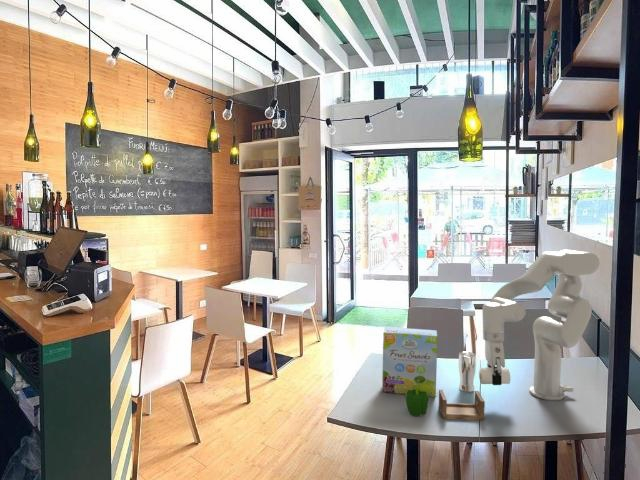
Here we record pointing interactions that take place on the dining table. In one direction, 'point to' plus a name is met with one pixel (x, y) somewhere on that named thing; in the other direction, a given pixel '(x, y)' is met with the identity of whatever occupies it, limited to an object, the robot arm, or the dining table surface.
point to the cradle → (462, 408)
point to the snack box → (409, 360)
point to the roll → (486, 375)
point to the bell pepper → (417, 401)
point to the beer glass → (467, 371)
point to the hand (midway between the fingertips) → (494, 380)
